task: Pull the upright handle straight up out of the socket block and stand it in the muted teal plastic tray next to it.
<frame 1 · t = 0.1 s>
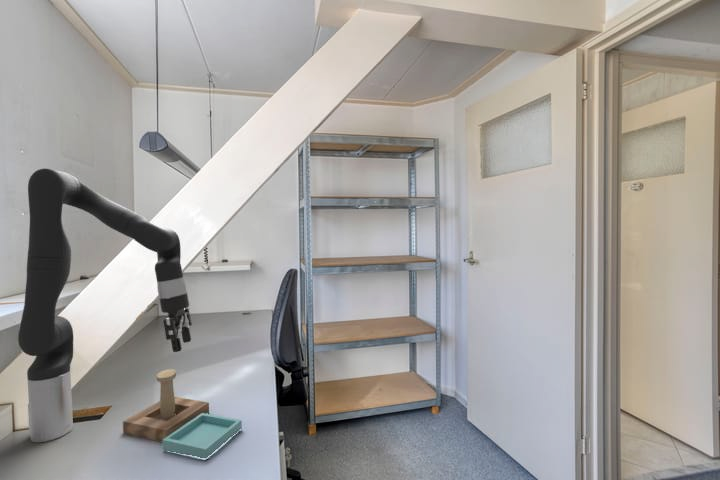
hand: (182, 346, 107), 22 cm above the table, tool pointing down, fingers open, 8 cm apart
handle: (168, 423, 106), resting in socket block
socket block: (168, 422, 106), on the table
tray: (204, 440, 97), on the table
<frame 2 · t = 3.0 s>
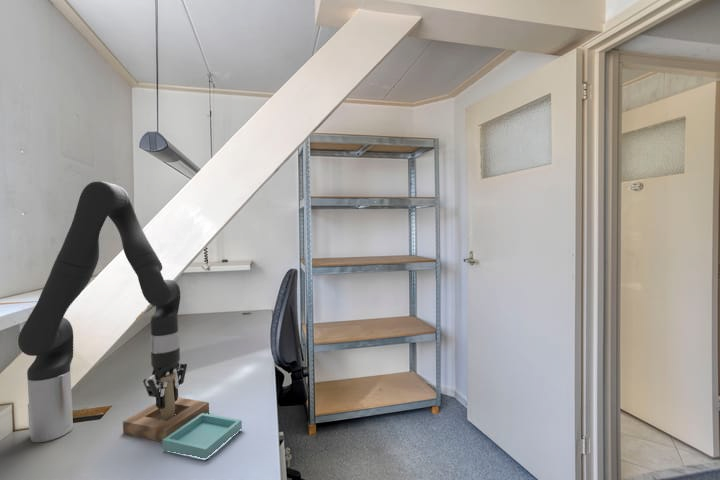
hand: (167, 404, 106), 6 cm above the table, tool pointing down, fingers closed on handle, 4 cm apart
handle: (168, 423, 106), resting in socket block, touching gripper
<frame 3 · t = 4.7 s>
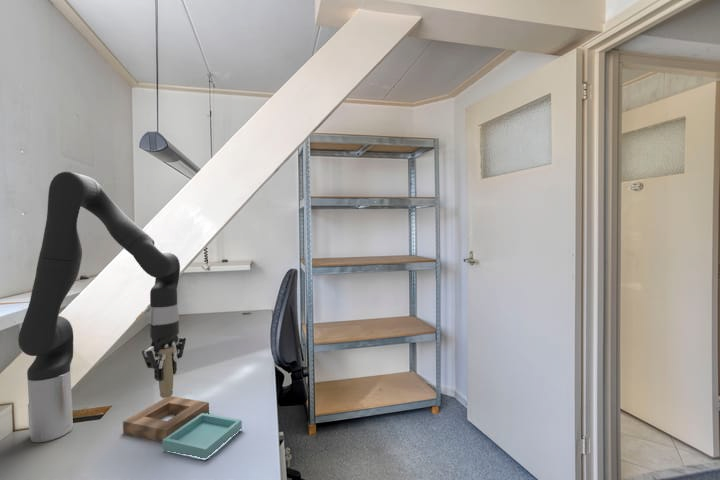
hand: (165, 376, 105), 14 cm above the table, tool pointing down, fingers closed on handle, 4 cm apart
handle: (166, 396, 106), point 8 cm above the table, touching gripper
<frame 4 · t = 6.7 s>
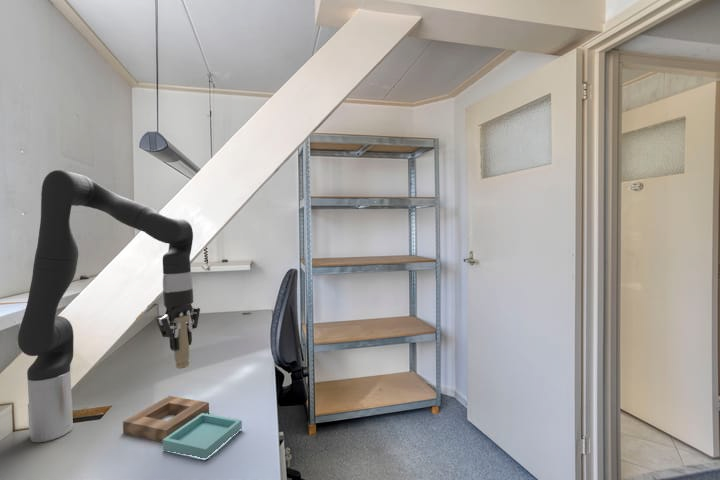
hand: (181, 347, 102), 24 cm above the table, tool pointing down, fingers closed on handle, 4 cm apart
handle: (182, 367, 102), point 18 cm above the table, touching gripper
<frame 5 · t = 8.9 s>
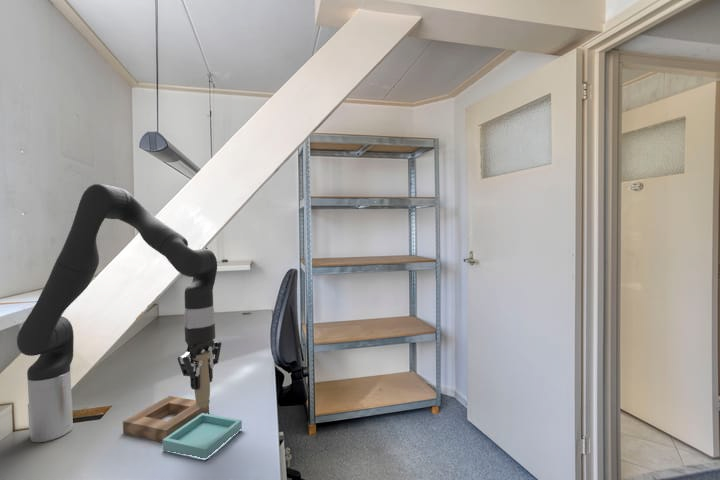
hand: (202, 385, 96), 15 cm above the table, tool pointing down, fingers closed on handle, 4 cm apart
handle: (202, 406, 97), point 9 cm above the table, touching gripper
when the fingers open (8 cm above the table, at t = 10.6 s): handle drops 1 cm, resting on tray.
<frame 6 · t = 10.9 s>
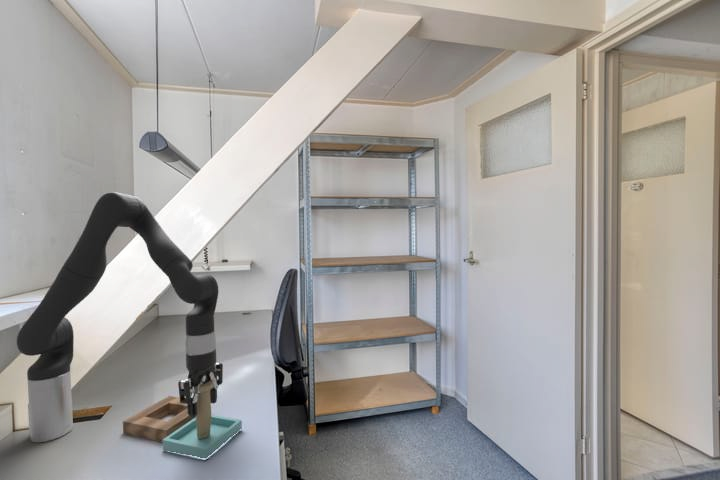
hand: (203, 408, 96), 9 cm above the table, tool pointing down, fingers open, 6 cm apart
handle: (203, 437, 97), point 1 cm above the table, touching tray
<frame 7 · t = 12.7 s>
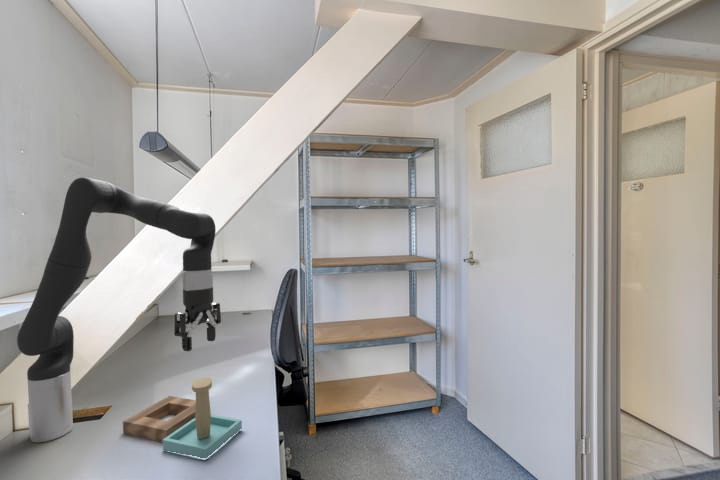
hand: (199, 345, 96), 26 cm above the table, tool pointing down, fingers open, 8 cm apart
nothing on the table moved.
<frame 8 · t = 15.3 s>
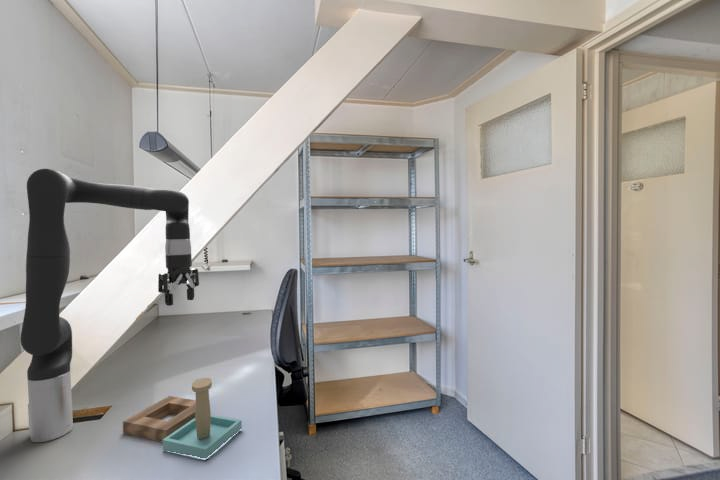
hand: (180, 302, 116), 34 cm above the table, tool pointing down, fingers open, 8 cm apart
nothing on the table moved.
at the end: handle inside the target area on the tray (0.1 cm from its centre), point 0.8 cm above the tray's base; handle tilted 0°; the gripper is holding nothing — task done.
